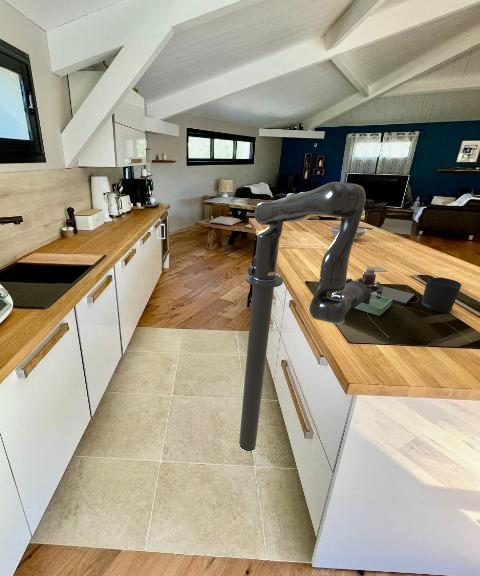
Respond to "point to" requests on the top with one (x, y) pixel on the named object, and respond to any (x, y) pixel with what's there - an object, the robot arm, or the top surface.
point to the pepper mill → (368, 281)
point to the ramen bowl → (359, 233)
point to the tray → (375, 305)
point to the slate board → (397, 295)
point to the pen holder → (440, 294)
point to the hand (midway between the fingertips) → (369, 282)
